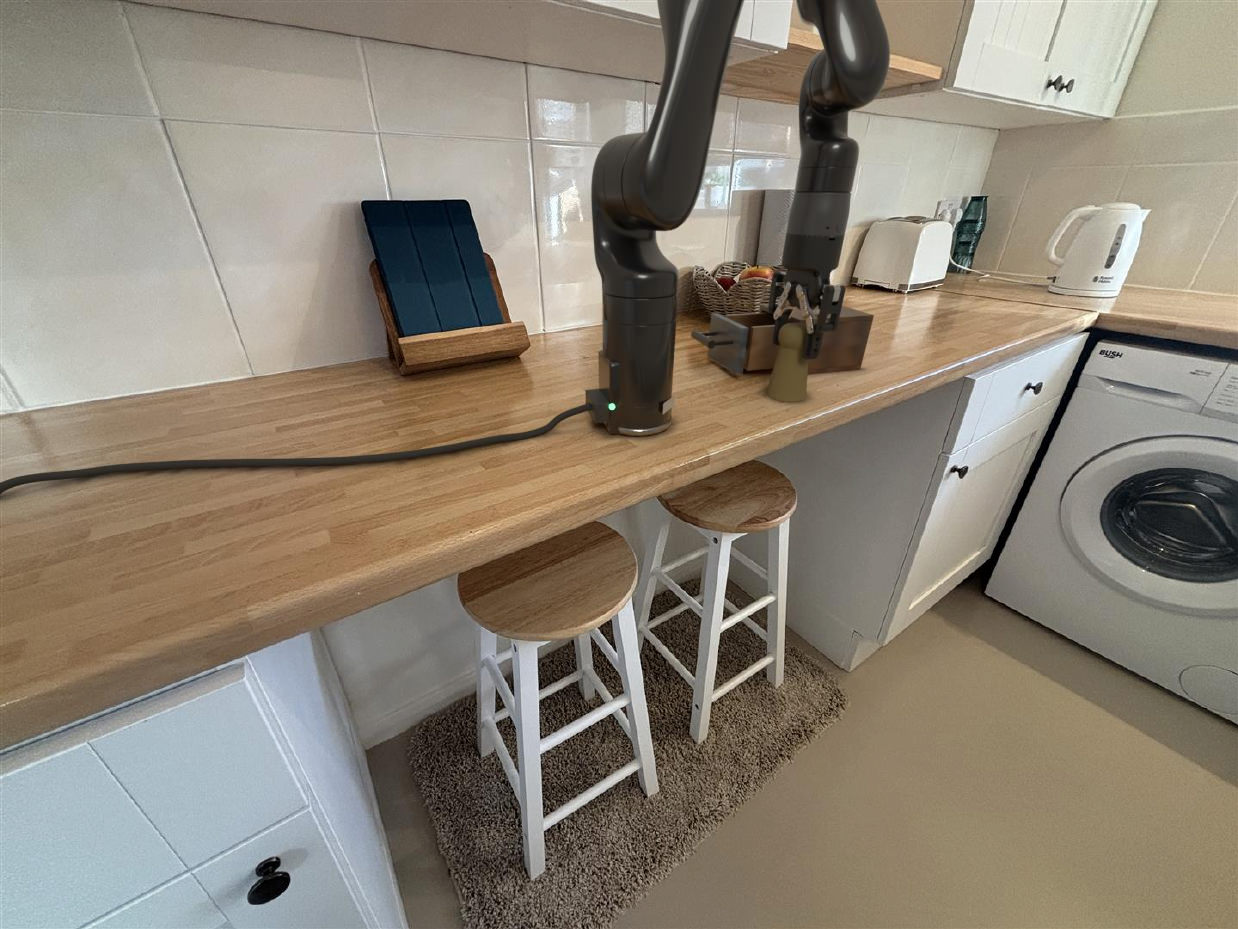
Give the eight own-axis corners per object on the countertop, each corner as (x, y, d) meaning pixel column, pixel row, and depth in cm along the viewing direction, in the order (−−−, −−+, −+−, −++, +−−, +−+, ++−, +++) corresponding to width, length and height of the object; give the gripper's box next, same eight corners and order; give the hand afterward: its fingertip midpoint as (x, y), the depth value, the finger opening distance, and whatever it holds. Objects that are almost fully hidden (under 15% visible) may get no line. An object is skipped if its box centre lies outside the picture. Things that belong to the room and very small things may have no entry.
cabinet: (789, 376, 85) (800, 319, 81) (753, 355, 96) (760, 304, 91) (860, 369, 89) (874, 315, 84) (817, 350, 99) (827, 301, 95)
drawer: (710, 377, 82) (715, 330, 78) (684, 357, 91) (687, 314, 88) (805, 368, 86) (814, 323, 82) (770, 350, 96) (777, 309, 92)
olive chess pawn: (801, 388, 80) (814, 319, 75) (810, 402, 75) (825, 329, 69) (763, 387, 80) (774, 318, 75) (769, 400, 75) (781, 328, 70)
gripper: (762, 227, 71) (747, 340, 79) (825, 235, 59) (799, 367, 67) (807, 226, 73) (788, 337, 81) (876, 234, 61) (846, 363, 69)
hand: (793, 350), depth 74 cm, fingers open, 7 cm apart
